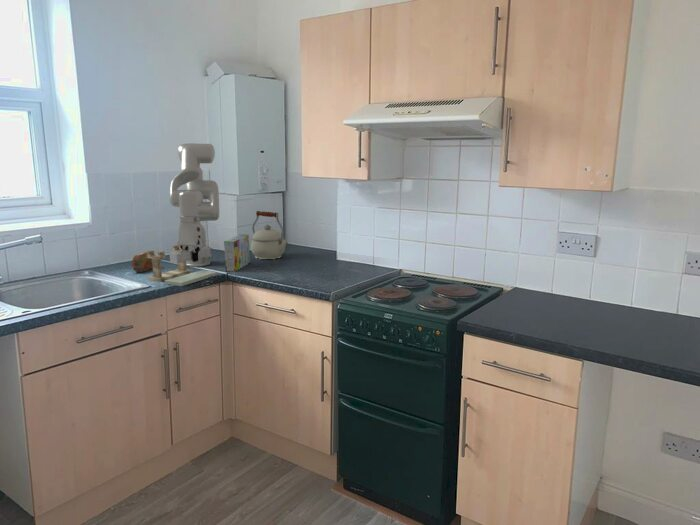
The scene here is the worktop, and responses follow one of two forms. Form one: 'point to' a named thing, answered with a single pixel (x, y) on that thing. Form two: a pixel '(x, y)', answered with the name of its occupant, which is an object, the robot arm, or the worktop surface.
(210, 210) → the robot arm
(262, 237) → the kettle
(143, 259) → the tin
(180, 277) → the board
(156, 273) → the rack
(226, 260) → the snack box
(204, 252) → the rail
